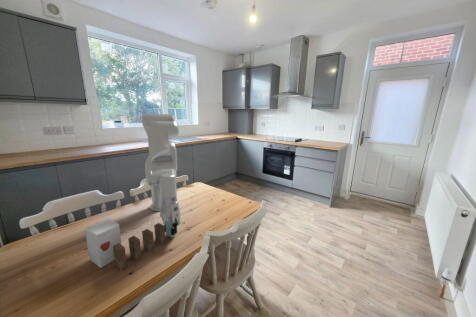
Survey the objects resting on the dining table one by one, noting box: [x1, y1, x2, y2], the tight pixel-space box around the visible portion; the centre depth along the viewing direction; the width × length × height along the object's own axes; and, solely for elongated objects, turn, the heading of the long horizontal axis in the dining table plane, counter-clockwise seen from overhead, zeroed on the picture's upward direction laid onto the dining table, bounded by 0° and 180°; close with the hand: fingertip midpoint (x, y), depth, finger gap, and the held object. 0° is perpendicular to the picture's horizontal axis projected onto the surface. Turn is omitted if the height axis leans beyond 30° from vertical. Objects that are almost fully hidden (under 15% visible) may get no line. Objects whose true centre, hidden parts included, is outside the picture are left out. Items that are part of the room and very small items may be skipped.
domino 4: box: [153, 222, 166, 246], centre depth 90 cm, size 2×4×9 cm, turn 57°
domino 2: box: [127, 235, 142, 262], centre depth 80 cm, size 2×4×9 cm, turn 57°
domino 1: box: [113, 243, 128, 272], centre depth 76 cm, size 2×4×9 cm, turn 57°
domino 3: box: [141, 228, 155, 254], centre depth 85 cm, size 2×4×9 cm, turn 57°
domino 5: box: [164, 220, 177, 238], centre depth 95 cm, size 2×4×9 cm, turn 57°
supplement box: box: [84, 218, 122, 269], centre depth 79 cm, size 9×9×15 cm
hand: (170, 232), depth 96 cm, fingers closed on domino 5, 4 cm apart
